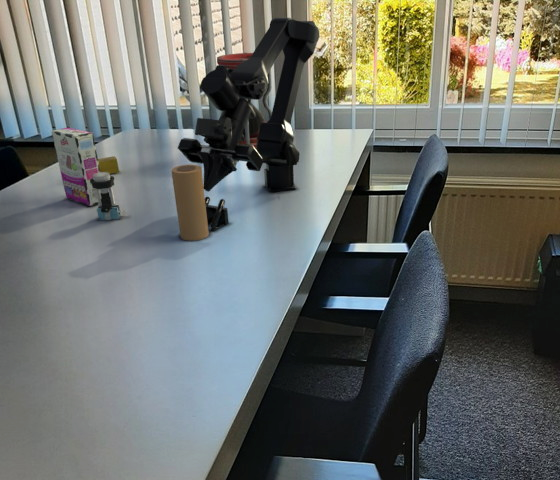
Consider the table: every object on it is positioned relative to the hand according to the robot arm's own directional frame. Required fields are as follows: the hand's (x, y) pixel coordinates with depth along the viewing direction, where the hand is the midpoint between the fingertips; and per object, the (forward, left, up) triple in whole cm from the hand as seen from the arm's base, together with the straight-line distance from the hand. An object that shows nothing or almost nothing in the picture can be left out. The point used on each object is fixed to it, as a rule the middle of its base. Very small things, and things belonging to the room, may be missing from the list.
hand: (206, 190), depth 131 cm
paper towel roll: (0, 0, -6) cm, 6 cm away
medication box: (+24, -51, -8) cm, 56 cm away
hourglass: (-24, -69, -8) cm, 73 cm away
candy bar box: (+26, -30, -8) cm, 40 cm away
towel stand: (0, 0, -8) cm, 8 cm away
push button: (+20, -14, -8) cm, 26 cm away
